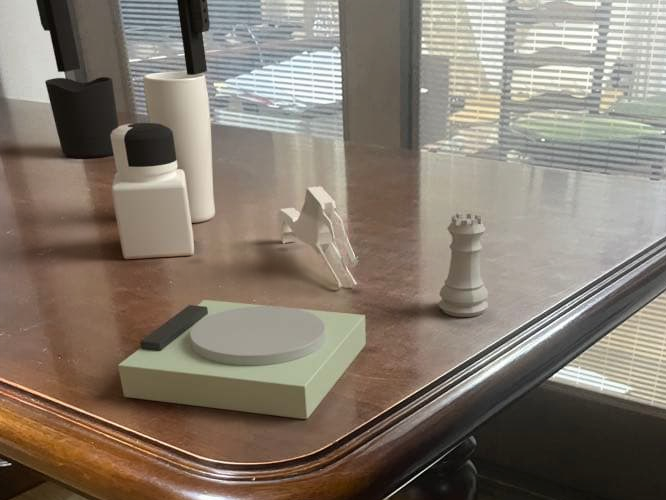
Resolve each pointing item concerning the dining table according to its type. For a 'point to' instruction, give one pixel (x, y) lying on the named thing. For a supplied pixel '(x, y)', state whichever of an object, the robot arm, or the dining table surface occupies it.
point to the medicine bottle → (150, 193)
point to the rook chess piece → (464, 269)
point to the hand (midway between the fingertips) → (132, 72)
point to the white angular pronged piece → (317, 228)
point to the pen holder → (83, 116)
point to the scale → (245, 358)
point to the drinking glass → (186, 132)
